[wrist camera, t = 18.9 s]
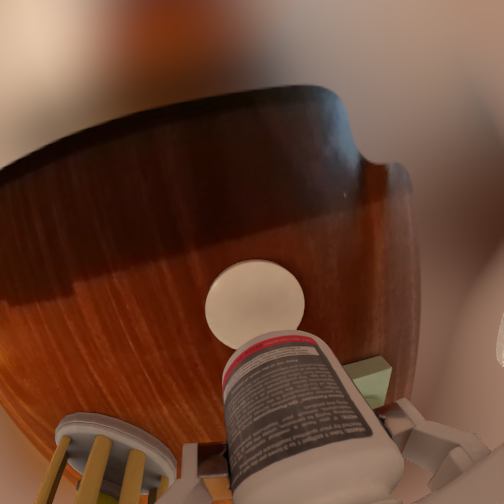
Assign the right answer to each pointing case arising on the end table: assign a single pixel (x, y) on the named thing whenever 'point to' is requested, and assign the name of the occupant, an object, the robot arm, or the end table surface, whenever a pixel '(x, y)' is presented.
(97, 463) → the lantern
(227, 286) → the coaster
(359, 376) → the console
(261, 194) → the end table surface
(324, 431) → the pill bottle
